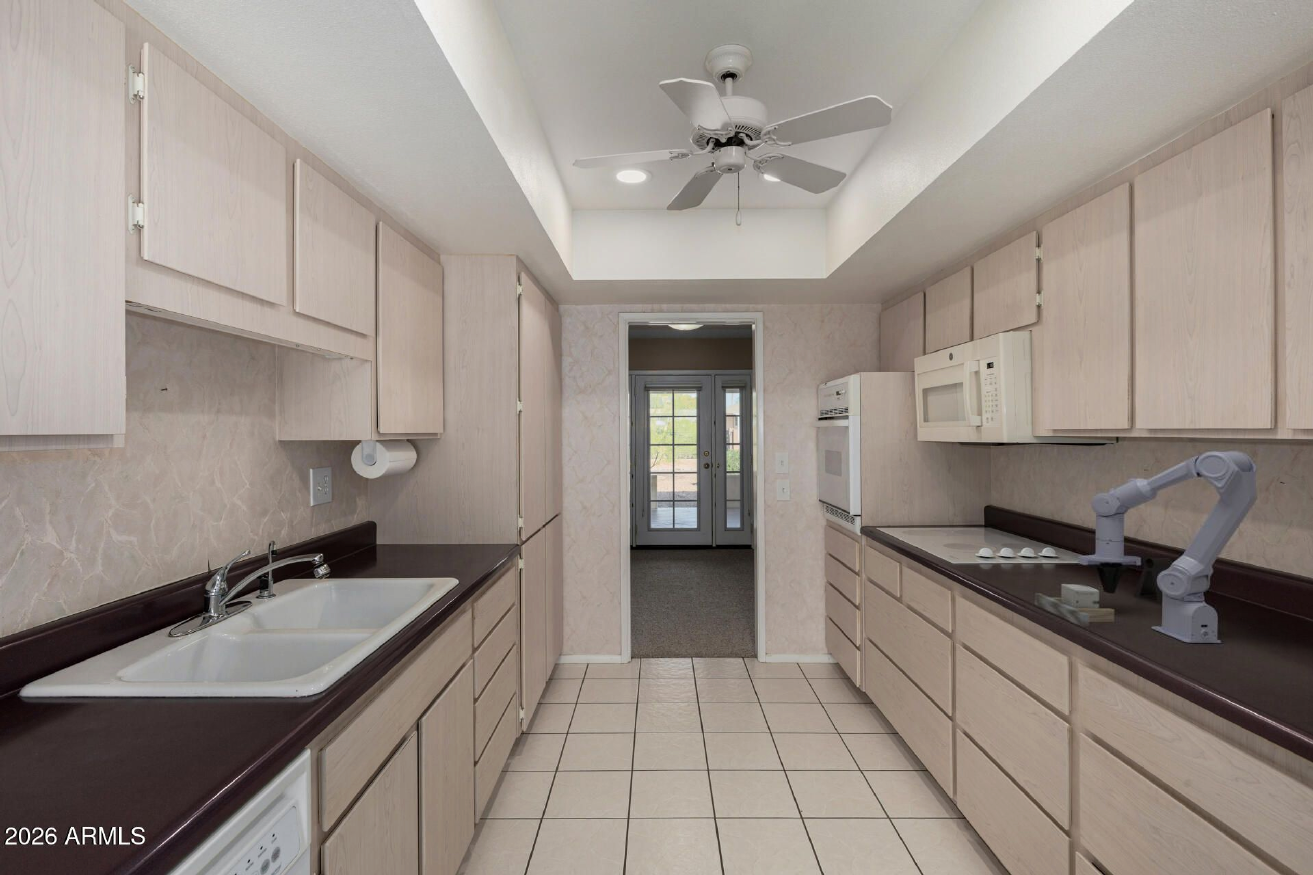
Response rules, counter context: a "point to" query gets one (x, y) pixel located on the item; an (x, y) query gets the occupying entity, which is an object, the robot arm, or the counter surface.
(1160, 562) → the door stopper
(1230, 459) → the robot arm
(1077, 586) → the skincare box
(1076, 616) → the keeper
